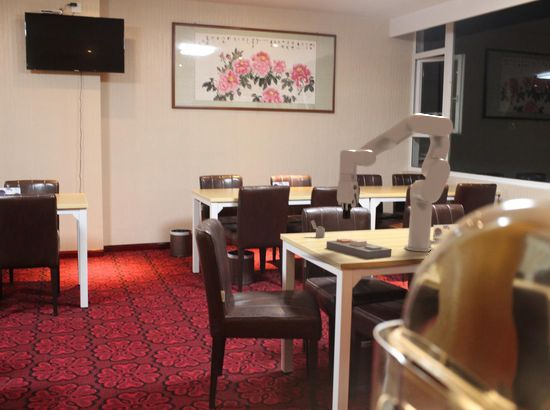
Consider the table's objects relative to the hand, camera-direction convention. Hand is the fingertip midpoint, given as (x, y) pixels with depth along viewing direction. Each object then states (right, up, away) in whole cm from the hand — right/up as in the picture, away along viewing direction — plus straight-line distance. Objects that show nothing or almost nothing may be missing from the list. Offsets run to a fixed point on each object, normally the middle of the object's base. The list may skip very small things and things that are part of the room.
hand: (346, 218), depth 264 cm
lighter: (-11, -10, +31) cm, 34 cm away
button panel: (+4, -14, -6) cm, 16 cm away
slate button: (+10, -14, -13) cm, 22 cm away
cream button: (+4, -12, -6) cm, 14 cm away
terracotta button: (-1, -12, +1) cm, 13 cm away
